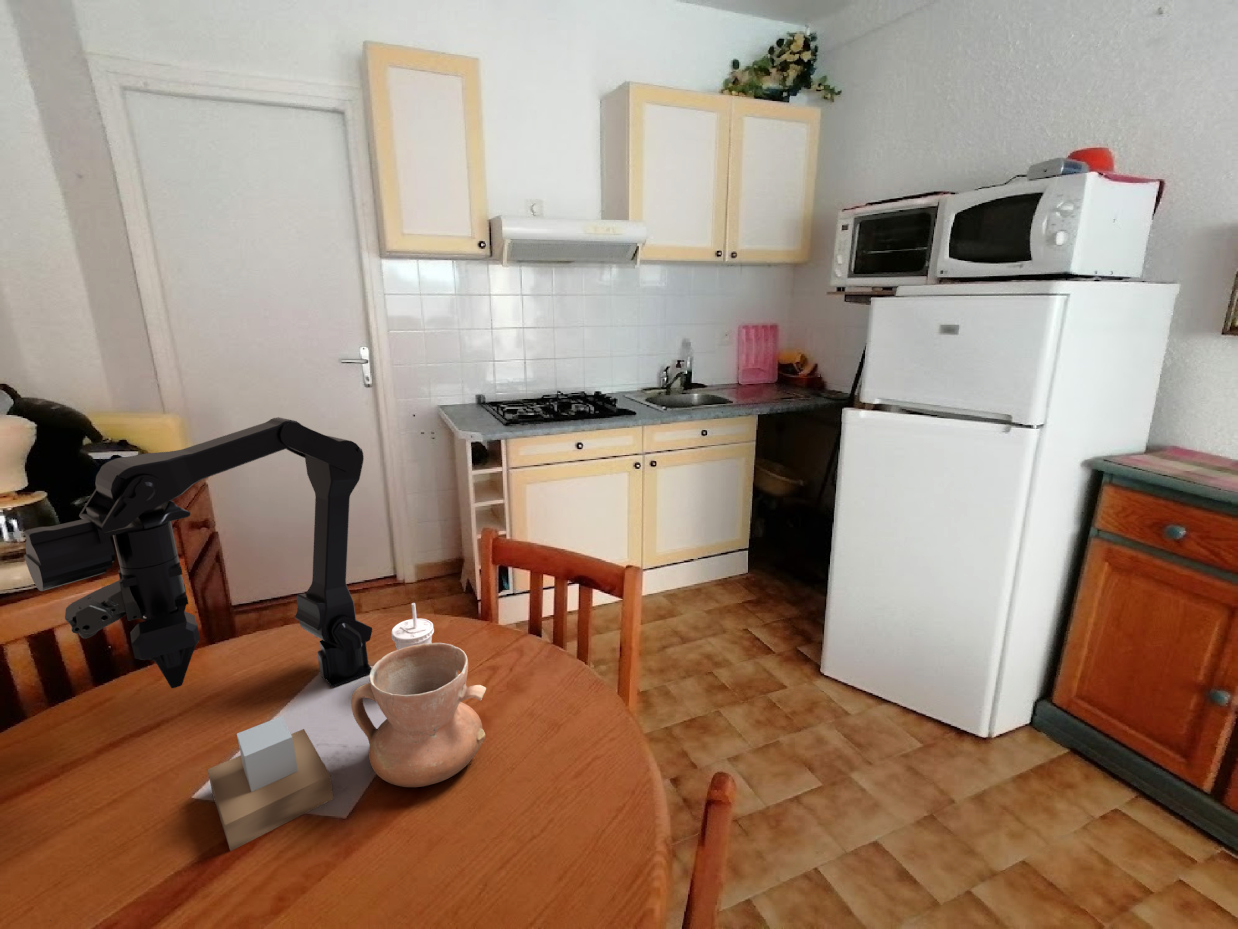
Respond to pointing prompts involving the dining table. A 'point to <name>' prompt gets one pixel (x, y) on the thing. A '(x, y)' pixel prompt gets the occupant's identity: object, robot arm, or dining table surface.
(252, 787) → the grey cube
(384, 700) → the ceramic jug
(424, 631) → the smoothie
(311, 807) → the brown boxy piece
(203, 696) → the dining table surface
